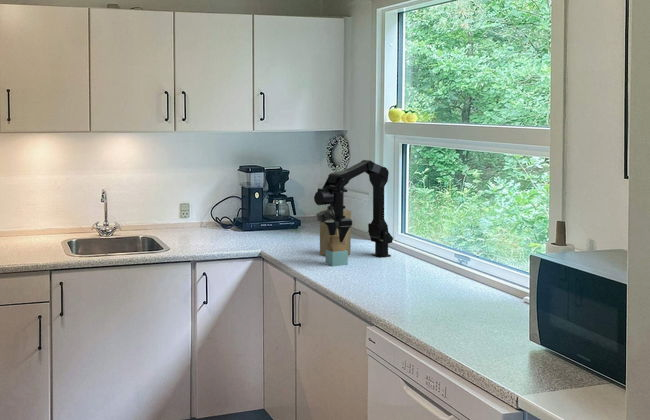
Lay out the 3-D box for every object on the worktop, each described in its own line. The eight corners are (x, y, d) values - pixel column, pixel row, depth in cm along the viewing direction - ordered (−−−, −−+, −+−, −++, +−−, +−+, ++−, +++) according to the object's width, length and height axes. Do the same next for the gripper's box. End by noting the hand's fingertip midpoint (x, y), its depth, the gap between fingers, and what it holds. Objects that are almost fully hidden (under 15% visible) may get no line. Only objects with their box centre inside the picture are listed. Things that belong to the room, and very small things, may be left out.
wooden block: (333, 252, 368) (333, 208, 365) (350, 254, 362) (351, 210, 359) (319, 255, 360) (319, 210, 358) (336, 258, 354) (337, 212, 351)
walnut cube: (327, 249, 341) (327, 235, 340) (339, 248, 343) (339, 234, 343) (333, 251, 336) (333, 237, 335) (345, 250, 338) (345, 236, 338)
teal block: (325, 263, 342) (325, 249, 342) (340, 262, 345) (340, 248, 344) (332, 266, 336) (332, 252, 335) (347, 265, 339) (347, 251, 338)
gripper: (310, 201, 342) (310, 238, 344) (328, 206, 325) (327, 245, 327) (334, 200, 347) (333, 236, 349) (353, 205, 330) (352, 243, 332)
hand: (336, 240), depth 339 cm, fingers open, 9 cm apart
